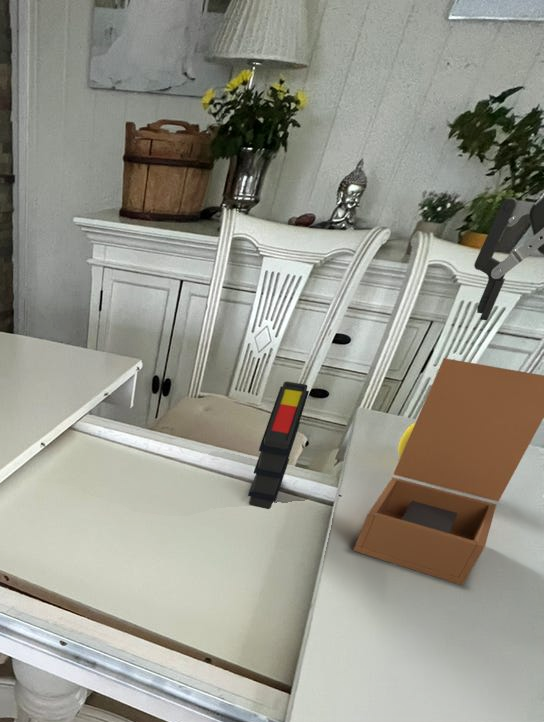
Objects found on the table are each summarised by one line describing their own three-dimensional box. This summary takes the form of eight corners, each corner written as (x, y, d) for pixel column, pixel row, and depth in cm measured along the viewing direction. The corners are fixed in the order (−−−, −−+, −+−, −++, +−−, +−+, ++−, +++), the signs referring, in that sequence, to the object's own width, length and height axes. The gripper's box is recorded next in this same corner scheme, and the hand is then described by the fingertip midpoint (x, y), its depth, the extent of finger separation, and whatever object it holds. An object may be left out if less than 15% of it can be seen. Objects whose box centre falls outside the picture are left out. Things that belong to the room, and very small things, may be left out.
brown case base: (462, 585, 69) (484, 546, 66) (352, 550, 74) (368, 512, 71) (476, 540, 78) (496, 504, 74) (377, 512, 83) (392, 476, 80)
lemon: (384, 466, 96) (404, 416, 91) (399, 458, 99) (419, 410, 94) (418, 477, 93) (441, 427, 88) (432, 469, 96) (455, 419, 91)
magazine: (288, 464, 91) (311, 383, 78) (267, 530, 86) (288, 455, 73) (263, 459, 92) (282, 379, 79) (241, 524, 87) (257, 450, 74)
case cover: (564, 378, 66) (560, 377, 71) (443, 358, 72) (446, 358, 76) (498, 501, 74) (498, 494, 78) (393, 474, 79) (398, 468, 83)
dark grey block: (447, 533, 77) (457, 512, 75) (434, 565, 71) (445, 543, 69) (402, 520, 80) (412, 500, 78) (386, 550, 73) (396, 528, 71)
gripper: (724, 122, 51) (609, 328, 61) (534, 122, 57) (458, 310, 67) (740, 116, 46) (613, 341, 56) (530, 117, 52) (449, 320, 62)
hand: (529, 324), depth 62 cm, fingers open, 8 cm apart
